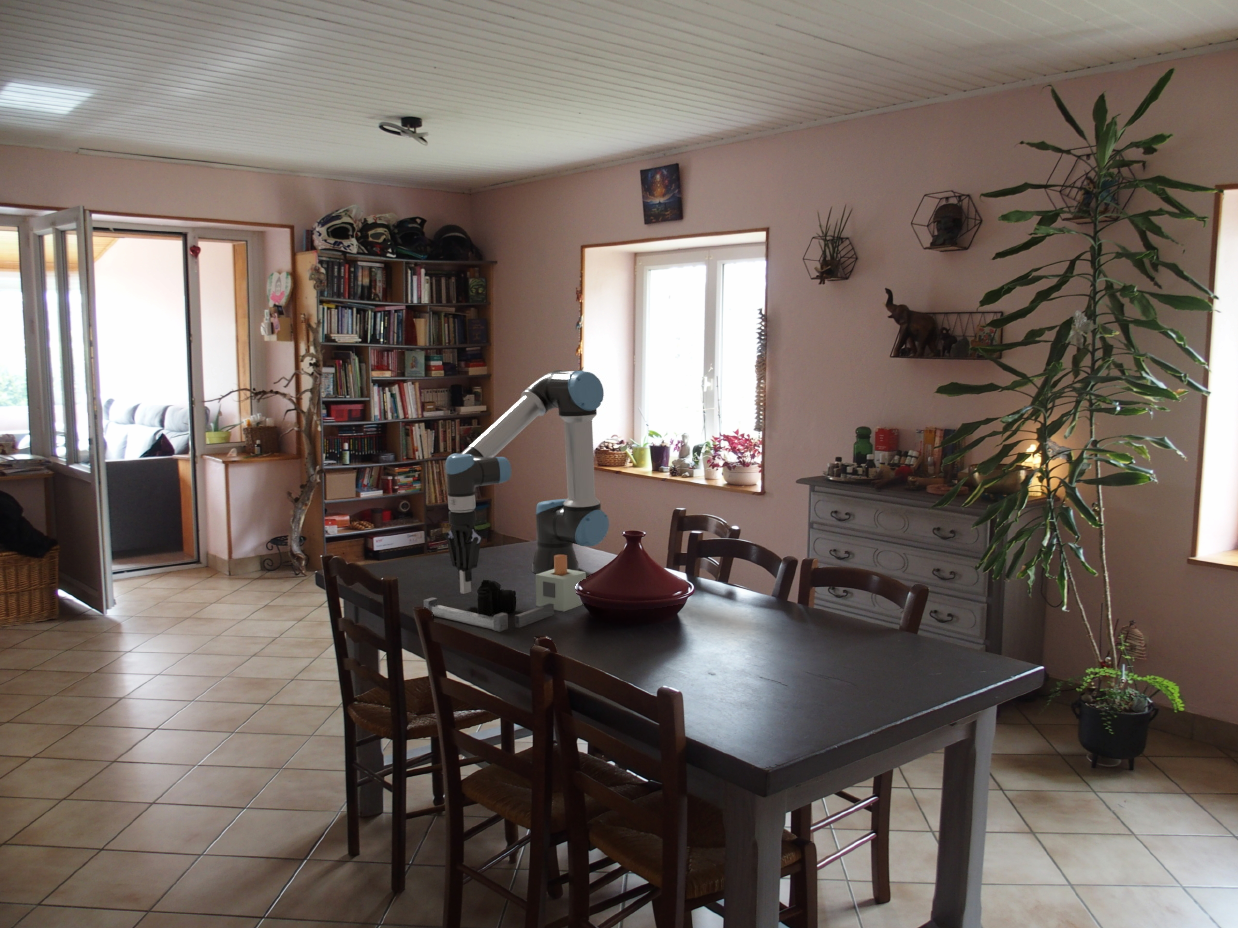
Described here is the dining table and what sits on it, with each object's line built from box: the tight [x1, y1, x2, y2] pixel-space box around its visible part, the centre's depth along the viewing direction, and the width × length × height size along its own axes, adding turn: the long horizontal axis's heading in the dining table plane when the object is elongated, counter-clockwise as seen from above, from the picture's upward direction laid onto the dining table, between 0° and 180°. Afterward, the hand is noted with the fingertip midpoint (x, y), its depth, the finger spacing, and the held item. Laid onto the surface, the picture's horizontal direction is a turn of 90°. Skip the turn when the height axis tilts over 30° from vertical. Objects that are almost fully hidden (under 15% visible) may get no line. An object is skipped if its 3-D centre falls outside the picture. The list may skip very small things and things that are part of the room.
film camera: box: [476, 579, 517, 617], centre depth 259 cm, size 15×10×9 cm, turn 178°
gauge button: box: [554, 555, 567, 576], centre depth 265 cm, size 4×4×6 cm
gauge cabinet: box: [535, 569, 587, 612], centre depth 266 cm, size 10×10×9 cm
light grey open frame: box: [423, 597, 555, 633], centre depth 257 cm, size 20×30×4 cm, turn 54°
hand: (465, 592), depth 266 cm, fingers closed
